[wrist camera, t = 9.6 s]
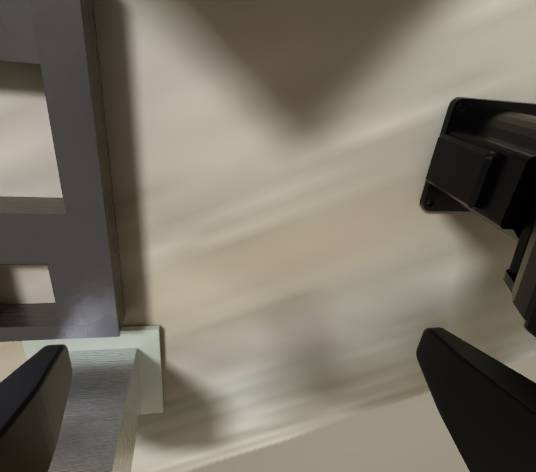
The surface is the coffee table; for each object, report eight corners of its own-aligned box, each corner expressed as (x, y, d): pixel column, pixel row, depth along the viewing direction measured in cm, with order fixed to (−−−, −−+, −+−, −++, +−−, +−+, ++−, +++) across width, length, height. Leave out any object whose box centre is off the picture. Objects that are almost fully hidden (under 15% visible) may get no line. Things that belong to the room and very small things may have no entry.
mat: (159, 325, 24) (158, 329, 24) (163, 408, 28) (163, 412, 27) (22, 330, 22) (20, 335, 22) (46, 417, 26) (44, 422, 26)
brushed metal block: (136, 347, 24) (111, 474, 17) (141, 400, 26) (121, 530, 19) (53, 352, 23) (-10, 487, 16) (65, 405, 25) (15, 544, 18)
